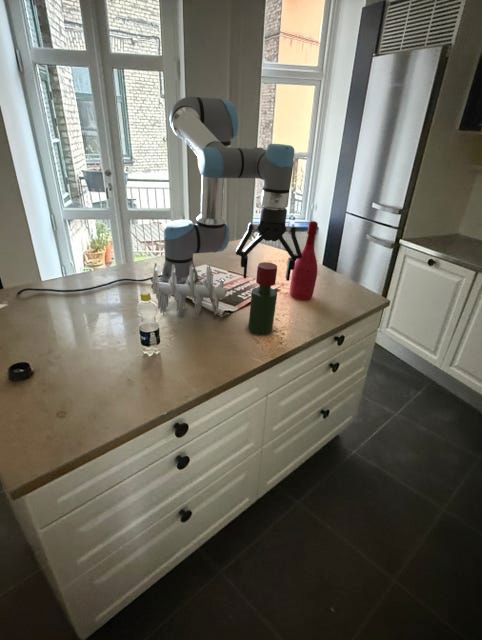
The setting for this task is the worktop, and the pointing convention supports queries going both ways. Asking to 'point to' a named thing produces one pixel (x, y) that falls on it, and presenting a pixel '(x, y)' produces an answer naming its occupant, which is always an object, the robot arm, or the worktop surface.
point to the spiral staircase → (187, 291)
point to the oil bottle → (262, 310)
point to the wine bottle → (305, 268)
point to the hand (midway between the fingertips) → (266, 278)
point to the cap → (266, 274)
